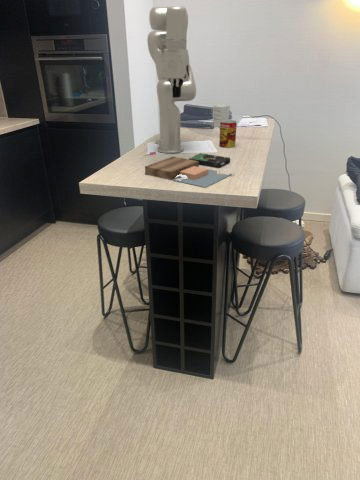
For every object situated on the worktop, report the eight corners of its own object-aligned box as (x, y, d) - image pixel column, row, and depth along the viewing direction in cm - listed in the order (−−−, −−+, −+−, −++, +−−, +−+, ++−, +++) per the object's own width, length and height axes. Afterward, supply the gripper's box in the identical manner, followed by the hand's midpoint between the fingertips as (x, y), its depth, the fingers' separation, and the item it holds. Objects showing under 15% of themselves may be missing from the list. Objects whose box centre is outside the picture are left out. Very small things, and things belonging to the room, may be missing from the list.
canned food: (216, 145, 187) (217, 120, 182) (229, 143, 190) (230, 119, 185) (224, 148, 181) (226, 123, 176) (238, 146, 184) (239, 121, 179)
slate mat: (173, 180, 137) (173, 180, 137) (201, 168, 151) (201, 168, 151) (205, 187, 130) (205, 187, 130) (232, 174, 143) (232, 173, 143)
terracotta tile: (179, 176, 141) (179, 171, 140) (193, 171, 147) (193, 166, 146) (194, 180, 137) (194, 174, 136) (208, 174, 143) (208, 169, 142)
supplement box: (220, 125, 237) (221, 104, 231) (229, 127, 231) (230, 105, 226) (212, 126, 232) (212, 105, 227) (220, 128, 227) (221, 106, 221)
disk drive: (230, 164, 159) (199, 159, 166) (230, 157, 158) (200, 152, 165) (219, 169, 151) (188, 164, 158) (219, 163, 150) (188, 157, 157)
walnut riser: (145, 174, 145) (144, 166, 143) (173, 163, 158) (172, 156, 156) (172, 179, 138) (171, 172, 137) (198, 168, 151) (198, 161, 150)
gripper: (154, 45, 141) (156, 96, 150) (187, 45, 133) (186, 100, 142) (166, 44, 146) (167, 94, 155) (198, 45, 139) (197, 97, 148)
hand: (176, 97), depth 149 cm, fingers closed
